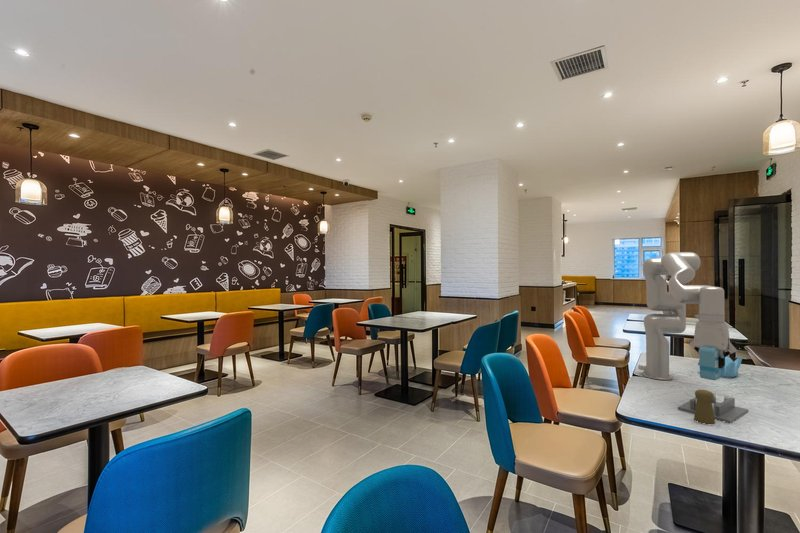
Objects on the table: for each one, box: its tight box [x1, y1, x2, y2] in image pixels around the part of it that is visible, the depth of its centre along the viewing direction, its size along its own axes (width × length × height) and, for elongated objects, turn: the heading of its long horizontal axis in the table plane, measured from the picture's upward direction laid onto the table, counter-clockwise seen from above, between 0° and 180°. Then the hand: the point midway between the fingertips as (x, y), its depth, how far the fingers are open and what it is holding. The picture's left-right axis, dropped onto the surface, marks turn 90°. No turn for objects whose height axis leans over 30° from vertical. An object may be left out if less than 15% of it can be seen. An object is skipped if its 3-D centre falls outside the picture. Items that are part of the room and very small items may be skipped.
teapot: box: [697, 356, 743, 379], centre depth 193 cm, size 15×15×11 cm
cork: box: [693, 389, 716, 425], centre depth 135 cm, size 6×6×11 cm
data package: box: [699, 346, 724, 381], centre depth 145 cm, size 12×4×12 cm, turn 126°
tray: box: [677, 391, 749, 424], centre depth 145 cm, size 16×19×5 cm
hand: (712, 365), depth 145 cm, fingers closed on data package, 4 cm apart
